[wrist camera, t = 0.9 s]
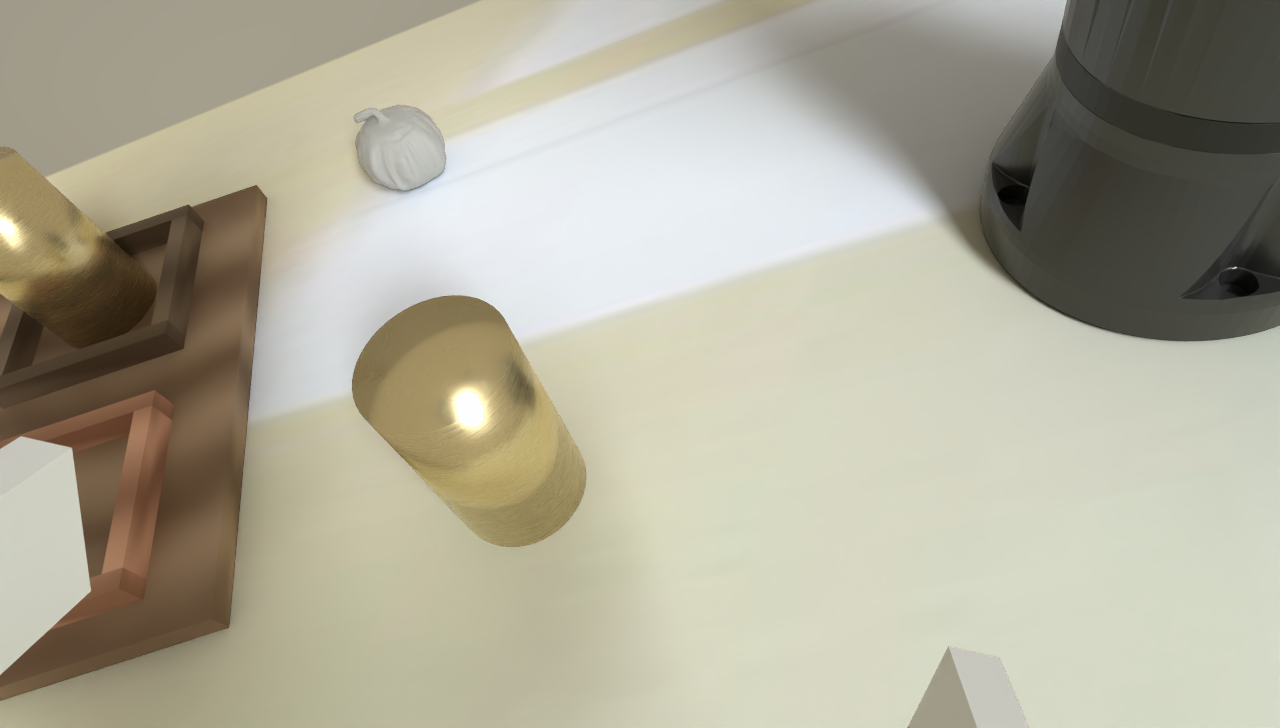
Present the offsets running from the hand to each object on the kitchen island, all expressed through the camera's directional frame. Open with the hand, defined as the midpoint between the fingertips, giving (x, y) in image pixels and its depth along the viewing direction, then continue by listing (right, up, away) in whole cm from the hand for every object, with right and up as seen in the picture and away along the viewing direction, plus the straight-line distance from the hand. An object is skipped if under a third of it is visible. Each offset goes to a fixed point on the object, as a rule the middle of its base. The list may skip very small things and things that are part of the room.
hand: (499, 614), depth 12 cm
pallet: (-28, +1, +32) cm, 43 cm away
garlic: (-12, +16, +39) cm, 44 cm away
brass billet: (-3, -2, +24) cm, 24 cm away
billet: (-30, +7, +36) cm, 47 cm away
